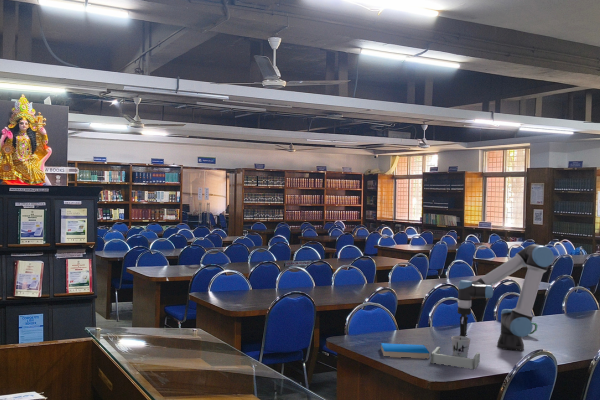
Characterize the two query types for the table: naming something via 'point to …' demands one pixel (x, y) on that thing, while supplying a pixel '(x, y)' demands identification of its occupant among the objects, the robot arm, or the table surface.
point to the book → (404, 350)
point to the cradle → (454, 360)
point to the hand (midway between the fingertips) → (462, 347)
